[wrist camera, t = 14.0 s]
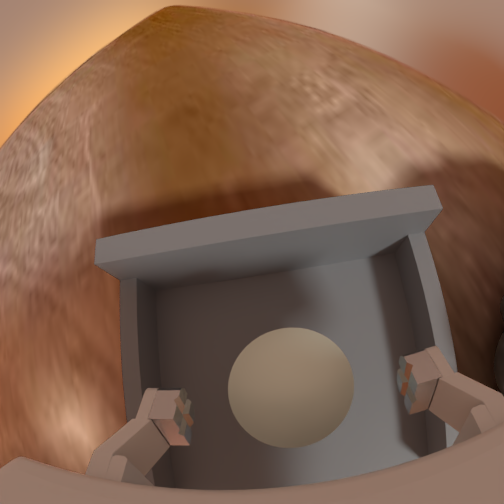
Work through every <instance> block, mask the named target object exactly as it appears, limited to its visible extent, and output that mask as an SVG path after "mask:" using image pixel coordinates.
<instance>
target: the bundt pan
mask: <svg viewBox="0 0 504 504" xmlns="http://www.w3.org/2000/svg"><path fill="white" fill-rule="evenodd" d="M500 311H501V314H502V317H503V321H504V296H503V298H502V300H501V303H500ZM494 373H495V380H496V383H497V385H498V388H499V390H500V392H501V393H502V395H503V396H504V332H503V334H502V335H501V338H500V340H499V342H498V345H497V348H496V352H495V358H494Z"/></svg>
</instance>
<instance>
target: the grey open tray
mask: <svg viewBox="0 0 504 504" xmlns="http://www.w3.org/2000/svg"><path fill="white" fill-rule="evenodd" d="M442 209H443V207H442V205H441V202H440V200H439V197H438V195H437V192H436V190H435V188H434V185H426V186H417V187H408V188H399V189H391V190H383V191H375V192H367V193H359V194H352V195H344V196H337V197H330V198H323V199H316V200H309V201H302V202H296V203H289V204H283V205H276V206H270V207H264V208H258V209H252V210H246V211H240V212H234V213H228V214H222V215H217V216H211V217H206V218H200V219H195V220H189V221H184V222H179V223H174V224H168V225H163V226H158V227H153V228H148V229H143V230H138V231H133V232H129V233H124V234H119V235H114V236H110V237H105V238H100V239H96V248H95V262H94V264H95V265H96V266H98V267H100V268H101V269H103V270H104V271H106V272H107V273H109V274H111V275H112V276H114V277H115V278H117V279H119V280H120V339H121V360H122V375H123V388H124V399H125V408H126V417H127V423H128V422H129V421H130V420H131V419H136V416H137V413H138V410H139V407H140V404H141V401H142V398H143V395H144V393H145V390H146V389H147V388H185V390H186V392H187V399H189V400H190V401H191V402H192V404H193V407H194V411H195V419H194V423H193V424H192V425H191V426H190V429H191V431H192V436H191V442H190V445H169V446H170V447H169V448H168V449H167V451H166V452H165V453H164V454H163V455H162V456H161V458H160V459H159V460H158V461H157V462H156V463H155V465H154V466H153V467H152V468H151V469H150V470H149V472H148V473H147V474H146V475H145V477H146V478H147V479H148V480H149V481H150V482H151V483H152V484H153V485H154V486H156V487H166V488H178V489H196V490H247V489H265V488H278V487H288V486H297V485H305V484H312V483H319V482H325V481H331V480H336V479H342V478H347V477H351V476H356V475H361V474H365V473H369V472H373V471H377V470H381V469H385V468H388V467H392V466H395V465H399V464H402V463H405V462H409V461H412V460H415V459H418V458H421V457H424V456H427V455H429V454H432V453H435V452H438V451H440V450H443V449H445V448H448V447H450V446H452V445H453V443H454V441H455V440H456V438H457V436H458V434H459V432H458V431H457V430H455V429H454V428H452V427H451V426H450V425H448V424H447V423H446V422H444V421H443V420H442V419H440V418H439V417H438V416H436V415H435V414H433V413H432V412H431V411H429V409H427V410H423V411H420V412H417V413H413V414H409V413H408V411H407V408H406V406H405V404H404V399H405V396H404V395H402V394H400V391H399V389H398V385H397V371H398V370H399V369H400V365H399V358H400V356H401V355H405V354H408V353H412V352H415V351H419V350H422V349H426V348H429V347H433V346H437V347H438V348H439V349H440V351H441V353H442V354H443V356H444V357H445V359H446V360H447V362H448V364H449V365H450V367H451V368H452V370H453V372H454V373H456V372H458V371H457V364H456V358H455V352H454V346H453V341H452V335H451V330H450V325H449V320H448V316H447V311H446V307H445V302H444V298H443V294H442V290H441V286H440V283H439V279H438V275H437V271H436V268H435V264H434V261H433V258H432V254H431V251H430V248H429V245H428V241H427V238H426V235H425V231H426V229H427V228H428V227H429V226H430V224H431V223H432V222H433V221H434V219H435V218H436V217H437V216H438V214H439V213H440V212H441V210H442ZM281 328H304V329H309V330H312V331H315V332H318V333H320V334H322V335H324V336H325V337H327V338H329V339H330V340H331V341H333V342H334V343H335V344H336V345H337V346H338V347H339V348H340V349H341V350H342V352H343V353H344V354H345V356H346V358H347V360H348V362H349V364H350V366H351V369H352V373H353V378H354V395H353V399H352V403H351V406H350V409H349V411H348V413H347V415H346V417H345V418H344V420H343V421H342V423H341V424H340V425H339V426H338V427H337V428H336V429H335V430H334V431H333V432H332V433H331V434H330V435H328V436H327V437H325V438H324V439H322V440H320V441H318V442H316V443H314V444H311V445H308V446H304V447H299V448H281V447H275V446H271V445H268V444H265V443H263V442H261V441H259V440H257V439H256V438H254V437H253V436H251V435H250V434H249V433H248V432H246V431H245V430H244V428H243V427H242V426H241V425H240V424H239V422H238V421H237V419H236V418H235V416H234V414H233V412H232V409H231V406H230V402H229V397H228V382H229V377H230V372H231V370H232V367H233V365H234V363H235V361H236V359H237V357H238V356H239V355H240V353H241V352H242V351H243V350H244V348H245V347H246V346H247V345H248V344H250V343H251V342H252V341H253V340H255V339H256V338H258V337H259V336H261V335H263V334H265V333H267V332H270V331H273V330H277V329H281Z"/></svg>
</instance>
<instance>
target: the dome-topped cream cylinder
mask: <svg viewBox="0 0 504 504" xmlns="http://www.w3.org/2000/svg"><path fill="white" fill-rule="evenodd" d="M353 395H354V378H353V373H352V369H351V366H350V364H349V362H348V360H347V358H346V356H345V354H344V353H343V352H342V350H341V349H340V348H339V347H338V346H337V345H336V344H335V343H334V342H333V341H331V340H330V339H329V338H327V337H325V336H324V335H322V334H320V333H318V332H315V331H312V330H309V329H304V328H281V329H277V330H273V331H270V332H267V333H265V334H263V335H261V336H259V337H258V338H256V339H255V340H253V341H252V342H251V343H250V344H248V345H247V346H246V347H245V348H244V350H243V351H242V352H241V353H240V355H239V356H238V357H237V359H236V361H235V363H234V365H233V367H232V370H231V372H230V377H229V382H228V397H229V402H230V406H231V409H232V412H233V414H234V416H235V418H236V419H237V421H238V422H239V424H240V425H241V426H242V427H243V428H244V430H245V431H246V432H248V433H249V434H250V435H251V436H253V437H254V438H256V439H257V440H259V441H261V442H263V443H265V444H268V445H271V446H275V447H281V448H299V447H304V446H308V445H311V444H314V443H316V442H318V441H320V440H322V439H324V438H325V437H327V436H328V435H330V434H331V433H332V432H333V431H334V430H335V429H336V428H337V427H338V426H339V425H340V424H341V423H342V421H343V420H344V418H345V417H346V415H347V413H348V411H349V409H350V406H351V403H352V399H353Z"/></svg>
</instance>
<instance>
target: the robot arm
mask: <svg viewBox="0 0 504 504" xmlns="http://www.w3.org/2000/svg"><path fill="white" fill-rule="evenodd" d="M399 365H400V369H399V370H398V371H397V385H398V389H399V391H400V394H402V395H404V396H405V399H404V404H405V406H406V408H407V411H408V413H409V414H413V413H417V412H420V411H423V410H427V409H429V411H431V412H432V413H433V414H435V415H436V416H438V417H439V418H440V419H442V420H443V421H444V422H446V423H447V424H448V425H450V426H451V427H452V428H454V429H455V430H457V431H458V432H459V434H458V436H457V438H456V440H455V441H454V443H453V445H452V446H450V447H448V448H445V449H443V450H440V451H438V452H435V453H432V454H429V455H427V456H424V457H421V458H418V459H415V460H412V461H409V462H405V463H402V464H399V465H395V466H392V467H388V468H385V469H381V470H377V471H373V472H369V473H365V474H361V475H356V476H351V477H347V478H342V479H336V480H331V481H325V482H319V483H312V484H305V485H297V486H288V487H278V488H265V489H247V490H196V489H178V488H166V487H156V486H154V485H153V484H152V483H151V482H150V481H149V480H148V479H147V478H146V477H145V475H146V474H147V473H148V472H149V470H150V469H151V468H152V467H153V466H154V465H155V463H156V462H157V461H158V460H159V459H160V458H161V456H162V455H163V454H164V453H165V452H166V451H167V449H168V448H169V447H170V446H169V445H190V442H191V436H192V431H191V429H190V426H191V425H192V424H193V423H194V419H195V411H194V407H193V404H192V402H191V401H190V400H189V399H187V392H186V390H185V388H147V389H146V390H145V393H144V395H143V398H142V401H141V404H140V407H139V410H138V413H137V416H136V419H131V420H130V421H129V422H128V423H127V424H125V425H124V426H123V427H122V428H121V429H119V430H118V431H117V432H116V433H115V434H113V435H112V436H111V437H110V438H109V439H107V440H106V441H105V442H104V443H103V444H101V445H100V446H99V447H98V448H96V449H95V450H94V452H93V454H92V457H91V460H90V462H89V465H88V468H87V470H86V473H85V474H81V473H77V472H73V471H69V470H66V469H62V468H59V467H55V466H52V465H48V464H45V463H42V462H39V461H36V460H33V459H30V458H27V457H23V456H19V457H17V458H15V459H13V460H11V461H10V462H8V463H7V464H6V465H4V466H3V467H2V468H0V504H504V396H503V395H502V393H499V392H497V391H495V390H493V389H491V388H489V387H487V386H485V385H483V384H481V383H479V382H477V381H475V380H473V379H471V378H469V377H467V376H465V375H463V374H461V373H459V372H456V373H454V372H453V370H452V368H451V367H450V365H449V364H448V362H447V360H446V359H445V357H444V356H443V354H442V353H441V351H440V349H439V348H438V347H437V346H433V347H429V348H426V349H422V350H419V351H415V352H412V353H408V354H405V355H401V356H400V358H399Z"/></svg>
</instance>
